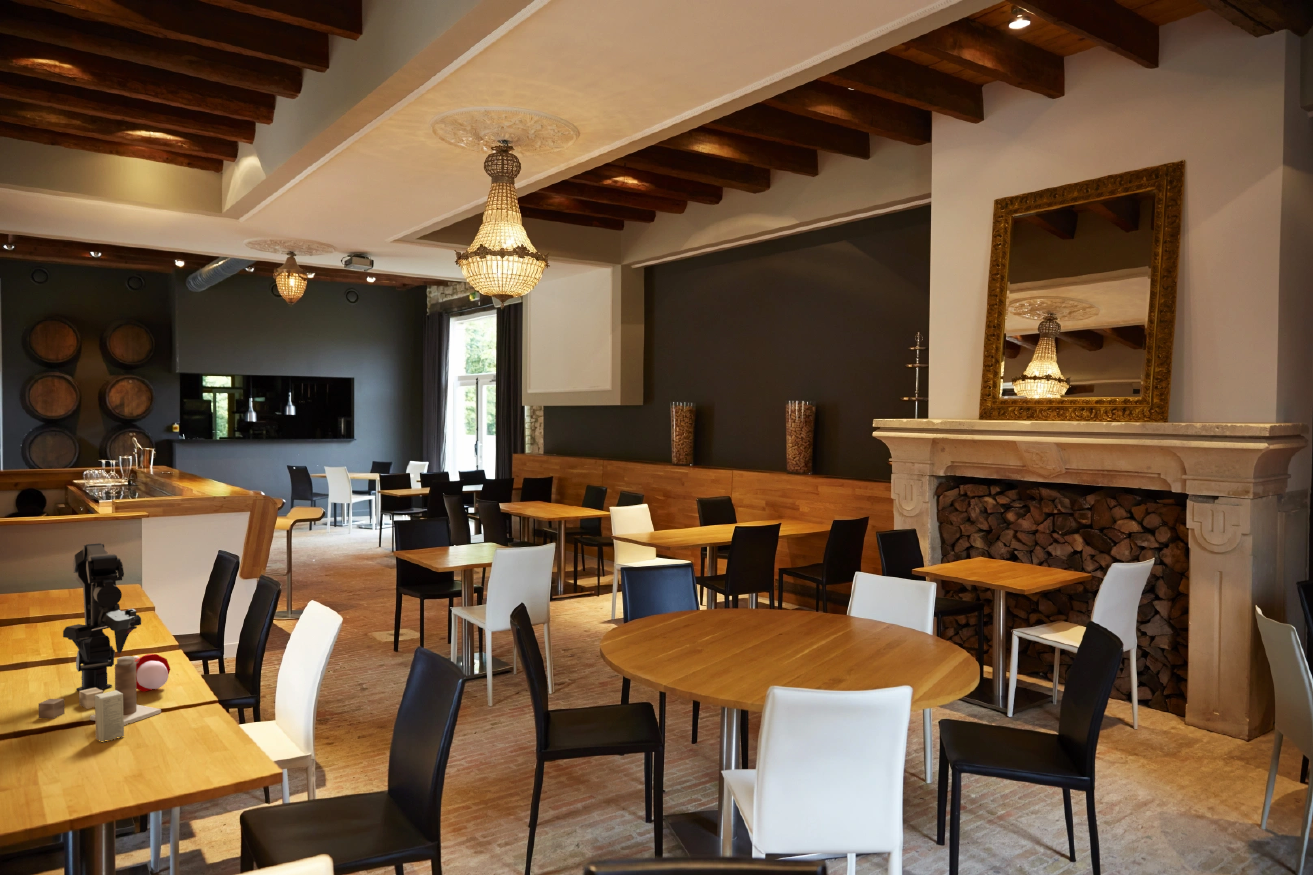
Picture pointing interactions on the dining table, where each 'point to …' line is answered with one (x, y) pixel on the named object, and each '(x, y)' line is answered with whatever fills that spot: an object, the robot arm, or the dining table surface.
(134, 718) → the plate
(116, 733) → the box
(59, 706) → the walnut block
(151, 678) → the mushroom
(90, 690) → the oak block
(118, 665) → the pepper mill
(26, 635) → the dining table surface
